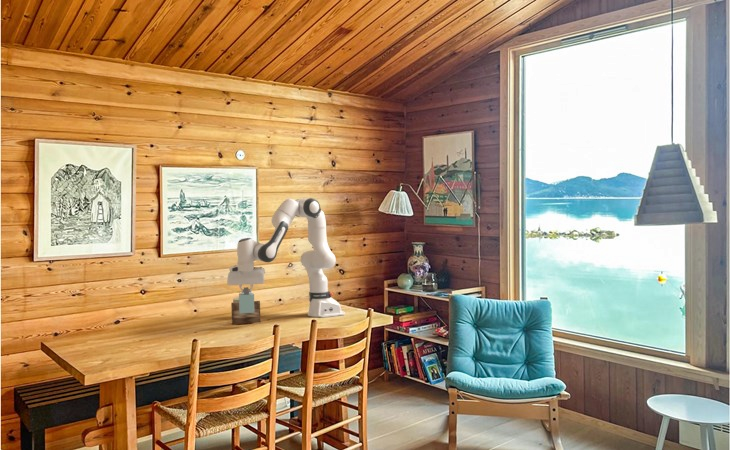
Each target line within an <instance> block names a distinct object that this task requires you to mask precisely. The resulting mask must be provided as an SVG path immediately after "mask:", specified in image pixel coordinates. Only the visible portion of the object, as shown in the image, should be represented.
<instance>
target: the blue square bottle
mask: <svg viewBox="0 0 730 450" xmlns="http://www.w3.org/2000/svg"><path fill="white" fill-rule="evenodd" d="M243 289H244V293H241V292H239V294H238V298H239V313H254V301H255V294H254V293H253V292H249V289H250V287H249V286H248V287H247V286H246V287H243Z"/></svg>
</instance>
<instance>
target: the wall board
mask: <svg viewBox="0 0 730 450" xmlns="http://www.w3.org/2000/svg"><path fill="white" fill-rule="evenodd" d="M230 309H231V324H232V325H236V324H237V325H239V324H250V323H261V300H254V313H239V302H233V301H232V302H231V308H230Z"/></svg>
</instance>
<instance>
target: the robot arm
mask: <svg viewBox="0 0 730 450" xmlns="http://www.w3.org/2000/svg"><path fill="white" fill-rule="evenodd" d="M297 217H298V218H306V220H307V238H308V240H307V241H308V243H309V244H311V246H312V248H313V250H306V251H304V252H302V254H301V255H300V263H301V265H302V266H303V267H304V269H305V271H306V273H307V277H308V281H309V283H308V284H309V291H308V301H309V305H308V306H309V307H308V310H307V311H308V312H307V316H308V317H314V318H328V317H329V318H330V317H340V316H345V315H346V312H345V310H342V306H341V304H340V302H338V301H337V300H336V299H334V298H333V296H334V293H333V292H330V291H329V285H328V284H329V281H328V278H327V276H326V275H325V274H324V270H329V269H333V268H334V267H335V265H336V262H337V260H336V259H337V258H336V255H335V254H334V253H333V251H331V248H330V246H329V244H328V238H327V221H326V216H325V213H324V211H323V210H322V209H321V205H320V202H319V201H318V200H317V199H315V198H311V197H310V198H307V197H304V198H298V199H293V198H290V197H289V198H286V199H285V200H284V201H283V202H281V203H280V204H279V206H278V207H277V209H276V210H275V212H274V213H273V214H272V217H271V223H272V224H271V225H272V227H274V231H273V234H272V235H271V237H270V238H269V241H268V242H266V243H261V242H257V241H256V240H254V239H253V238H251V237H246V238H241V239H239V240H238V241H237V246H236V247H237V248H236V251H237V252H236V256H237V264H235V265H233V266H230V267H229V272H228V274H227V283H226V284H227V285H228V286H238V287H239V288H240V290H241V291H240V293H244V288H243V286H245V285H250V287H249V293H252V289H253V287H254V285H258V284H264V283H265V274H266V271H265V270H266V269H265V267H262V266H259V267H258V266H255V265H254V264H255V263H254V261H258V262H264V263H271V262H273V261H274V260H276V257H277V254H278V251H279V247H280V246H281V244H282V242H283V240H284V238H285V237H286V235H287V232H288V231H289V227H290V225H291V223H292V222H293V220H294V219H295V218H297Z"/></svg>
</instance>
